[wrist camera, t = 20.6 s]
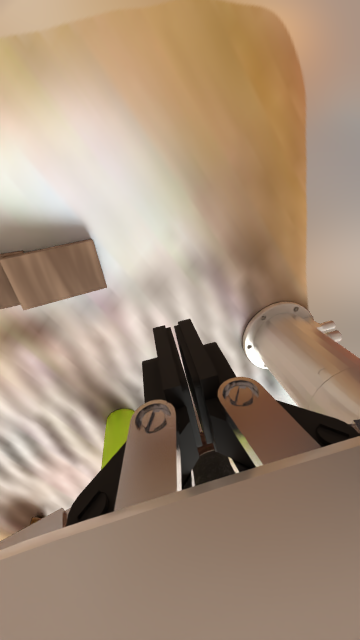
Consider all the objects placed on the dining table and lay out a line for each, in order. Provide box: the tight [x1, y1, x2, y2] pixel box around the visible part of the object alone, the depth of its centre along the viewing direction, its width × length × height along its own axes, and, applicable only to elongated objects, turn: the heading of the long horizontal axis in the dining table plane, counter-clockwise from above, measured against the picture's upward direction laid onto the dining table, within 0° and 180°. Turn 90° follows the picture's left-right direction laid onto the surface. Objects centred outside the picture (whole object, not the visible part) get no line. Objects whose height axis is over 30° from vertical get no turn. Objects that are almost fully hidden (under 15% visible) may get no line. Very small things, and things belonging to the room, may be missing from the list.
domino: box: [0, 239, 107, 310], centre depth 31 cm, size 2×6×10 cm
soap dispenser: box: [101, 409, 135, 470], centre depth 37 cm, size 6×7×20 cm
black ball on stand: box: [192, 432, 236, 486], centre depth 47 cm, size 13×13×15 cm
